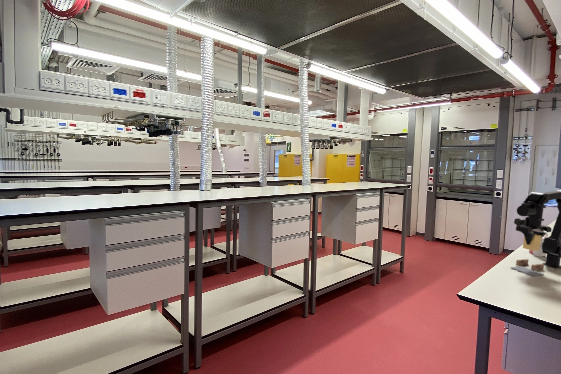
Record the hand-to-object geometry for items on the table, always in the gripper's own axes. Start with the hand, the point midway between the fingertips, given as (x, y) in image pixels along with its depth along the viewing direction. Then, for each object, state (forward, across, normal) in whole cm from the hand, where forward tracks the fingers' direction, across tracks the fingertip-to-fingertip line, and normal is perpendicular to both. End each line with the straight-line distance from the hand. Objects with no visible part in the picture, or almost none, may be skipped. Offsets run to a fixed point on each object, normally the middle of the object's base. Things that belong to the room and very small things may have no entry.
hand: (531, 244), depth 160 cm
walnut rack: (+13, -2, -1) cm, 13 cm away
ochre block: (+2, 0, 0) cm, 2 cm away
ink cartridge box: (+13, -34, -17) cm, 40 cm away
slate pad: (+13, +7, +4) cm, 15 cm away
